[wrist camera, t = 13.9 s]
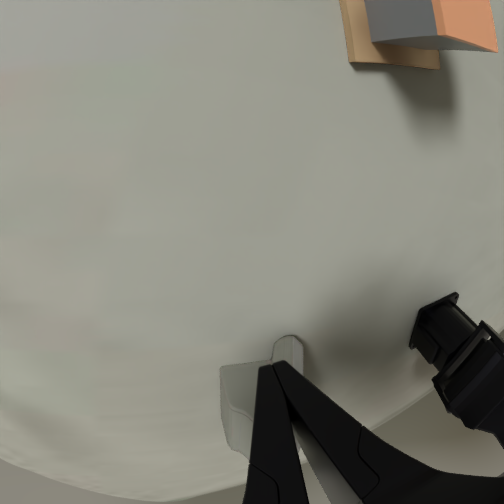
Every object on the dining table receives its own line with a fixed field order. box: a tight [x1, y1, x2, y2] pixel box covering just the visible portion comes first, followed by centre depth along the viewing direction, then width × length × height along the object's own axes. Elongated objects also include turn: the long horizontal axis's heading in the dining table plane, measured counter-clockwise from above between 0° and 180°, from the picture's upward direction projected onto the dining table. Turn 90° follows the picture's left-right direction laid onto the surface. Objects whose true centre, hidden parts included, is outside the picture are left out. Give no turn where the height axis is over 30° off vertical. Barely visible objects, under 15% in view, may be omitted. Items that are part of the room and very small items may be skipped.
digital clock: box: [220, 336, 303, 459], centre depth 24 cm, size 16×9×11 cm, turn 165°
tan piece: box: [339, 0, 440, 70], centre depth 12 cm, size 8×8×6 cm
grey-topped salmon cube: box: [364, 0, 498, 53], centre depth 11 cm, size 5×5×7 cm
